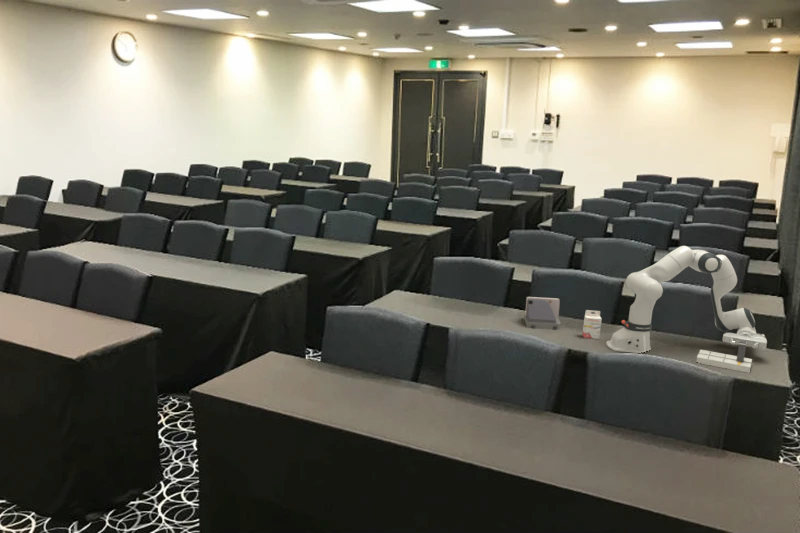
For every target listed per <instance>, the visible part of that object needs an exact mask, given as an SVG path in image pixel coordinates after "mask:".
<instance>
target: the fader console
mask: <svg viewBox="0 0 800 533" xmlns="http://www.w3.org/2000/svg"><path fill="white" fill-rule="evenodd" d="M736 359H737V355H733V354H727V353H721V352H715V351H711V350H705V349H701V348H700V350H699V352H698V354H697V356H696V361H695V362H698V363H697V364H700V363H701V364H700V365H706V366H710V365H711V366H712V367H717V368H722V369H726V368H727V369H726V370H732V371H736V372H742V373H747V374H750V372H751V367H752V362H753V359H752V358H748V357H744V362H740V361H736ZM711 366H710V367H711Z"/></svg>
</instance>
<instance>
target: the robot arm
mask: <svg viewBox="0 0 800 533" xmlns="http://www.w3.org/2000/svg"><path fill="white" fill-rule="evenodd" d="M686 268H690V269H692V270H695V271H696V272H700V273H703V274H711V277H712V280H713V285H712V286H711V288H710V298H711V303H712V308H713V314H714V324H715V327H716V329H717V330H719V331H721V332H724V333H723V335H722V342H724V343H727V344H731V345H739V341H740V340H745V341H747V343H746V347H751V348H752V349H762V350H766V349H767V344H768V340H767V338H766V336H765V334H764V333H759V332H757V330H756V327H755V326H756V320H755V316H754V314H753V312H752V311H751V310H750V309H749V308H747V307H741V308H736V309H732V310H729V311H723V309H722V303H721V299H722V298H723V297H724V296H725V295H727V294H728V293H730V292H731V291H732V290H733V289H734V288H735V287H736V285H737V284H738V276H737V274H736V270H735V268H734V266H733V265H732V262H731V261H730V259H729V258H728V257H727V256H726V255H725V254H714V253H712V252H710V251H709V252H708V251H707V250H705V249H699V248H691V247H689V246H687V245H680V246H679V247H677V248H675V249H673V250H672V251H670V252H669V253H667V254H666V255H664V257H662V258H660V259H659V260H658V261H657V262H655V263H654V264H652V265H650V266H648V267H646V268H644V269H642V270H639V271H634V272H631V273H630V274H629V275H627V277H626V280H625V284H626V286H627V288H628V290H630V292H632V293H634V294H635V295H636V296H635V299H634V302H633V303H632V304H631V305H630V307H629V314H628V319H627V321H626V320H625V319H622V320H621V323H622V324H623V327H622V328H620V329H618V330H616V331H615V332H613V333H612V336H611V339H610V340H607V341H606V343H605V345H606V346H607V347H608V349H610V350H612V351H614V352H622V353H634V354H642V353H641V352H645V353H647V352H646V351H648V352H650V351H651V350H652V347H651V340H650V339H651V338H650V337H651V331H652V317H653V310H654V307H655V305H656V302H657V300H659V299H660V298H661V297H662V295H663V293H664V289H663V286H662V285H661V283H664V282H669V281H671V280H672V279H674V278H675V277H676V276H677V275H679V274H680V273H681V272H683V271H684V270H685V269H686ZM736 329H737V332H736V333H734V332H729V331H731V330H736ZM649 350H650V351H649Z"/></svg>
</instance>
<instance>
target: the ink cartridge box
mask: <svg viewBox="0 0 800 533" xmlns="http://www.w3.org/2000/svg"><path fill="white" fill-rule="evenodd" d="M583 318H584V320H583V327H582V336H583V339H592V338H593V339H595V340H600V337H601V336H600V335H601V328H602V320H603V319H602V317H601V311H600V310H589V309H586V310H585V313H584V317H583Z"/></svg>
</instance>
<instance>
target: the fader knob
mask: <svg viewBox="0 0 800 533" xmlns="http://www.w3.org/2000/svg"><path fill="white" fill-rule="evenodd" d="M746 343H747V341H745V340H740V341H739V344H738V349H737V355H736V356H737V359H736V361H740V362H744V358H745V355H746V349H747V348H746V347H747V346H746Z"/></svg>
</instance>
